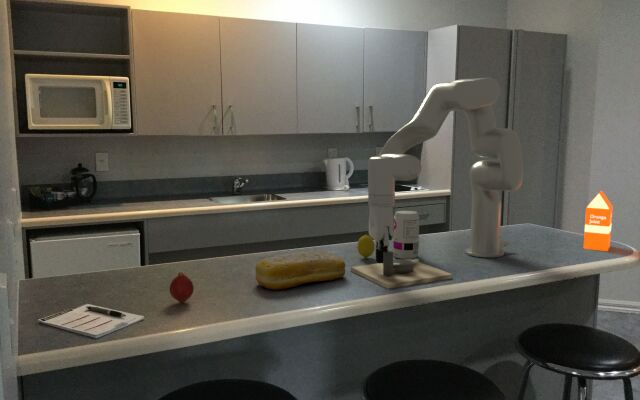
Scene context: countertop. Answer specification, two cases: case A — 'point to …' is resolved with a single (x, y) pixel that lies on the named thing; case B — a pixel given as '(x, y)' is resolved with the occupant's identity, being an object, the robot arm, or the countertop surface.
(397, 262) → the dark grey handled piece
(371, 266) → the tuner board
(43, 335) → the countertop surface
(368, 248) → the lemon
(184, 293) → the onion
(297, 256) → the bread
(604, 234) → the orange juice
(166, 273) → the countertop surface
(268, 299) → the countertop surface
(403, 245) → the supplement can
